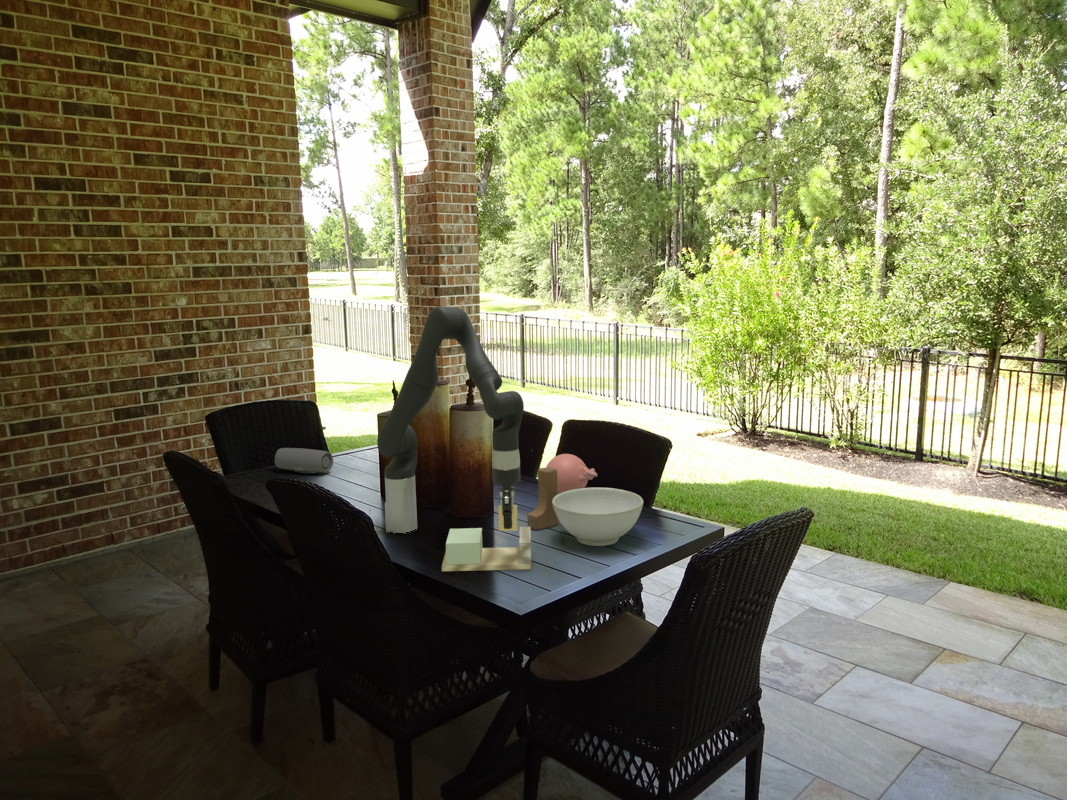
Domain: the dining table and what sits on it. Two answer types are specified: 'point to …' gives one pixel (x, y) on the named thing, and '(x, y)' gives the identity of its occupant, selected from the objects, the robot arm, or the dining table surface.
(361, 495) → the dining table surface
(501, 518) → the brass block
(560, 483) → the balloon
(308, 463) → the bluetooth speaker
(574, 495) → the decorative bowl
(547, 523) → the wooden block
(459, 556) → the block
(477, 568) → the vise
